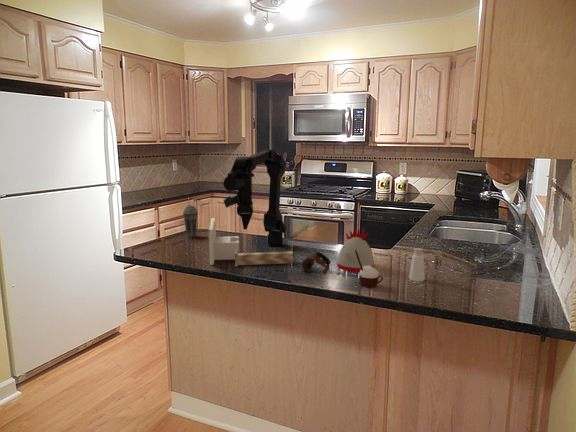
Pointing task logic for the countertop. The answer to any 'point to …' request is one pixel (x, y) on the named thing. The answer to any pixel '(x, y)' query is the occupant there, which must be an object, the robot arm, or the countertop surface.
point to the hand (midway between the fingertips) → (245, 227)
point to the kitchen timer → (348, 255)
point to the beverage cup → (190, 220)
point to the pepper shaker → (417, 266)
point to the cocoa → (368, 275)
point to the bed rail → (263, 258)
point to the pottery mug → (316, 257)
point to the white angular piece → (221, 245)
